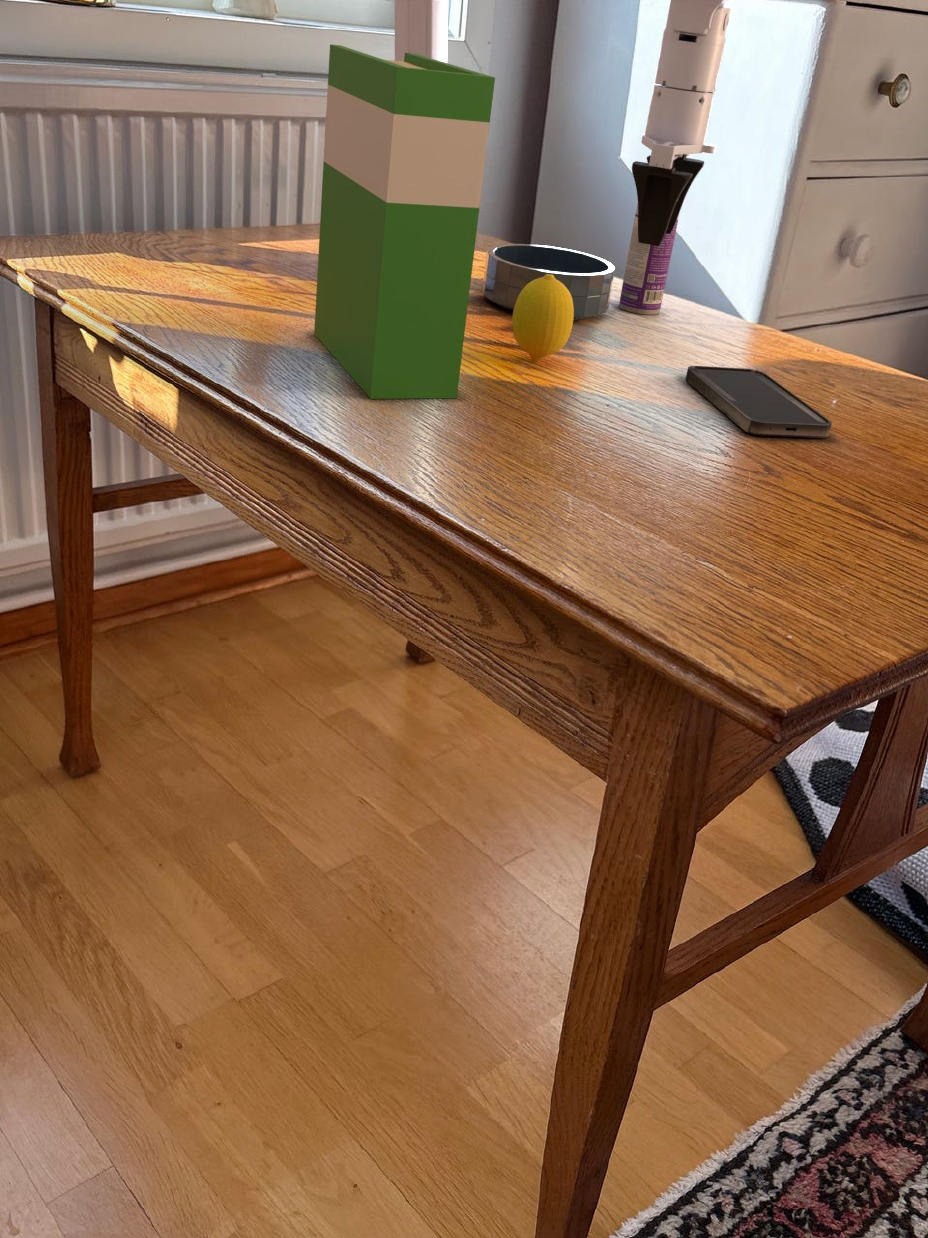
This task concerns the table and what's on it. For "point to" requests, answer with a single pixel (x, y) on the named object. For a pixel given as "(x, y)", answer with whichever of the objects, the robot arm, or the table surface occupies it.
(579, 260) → the bowl
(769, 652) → the table surface
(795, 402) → the phone
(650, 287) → the container
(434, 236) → the green cereal box
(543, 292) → the lemon
